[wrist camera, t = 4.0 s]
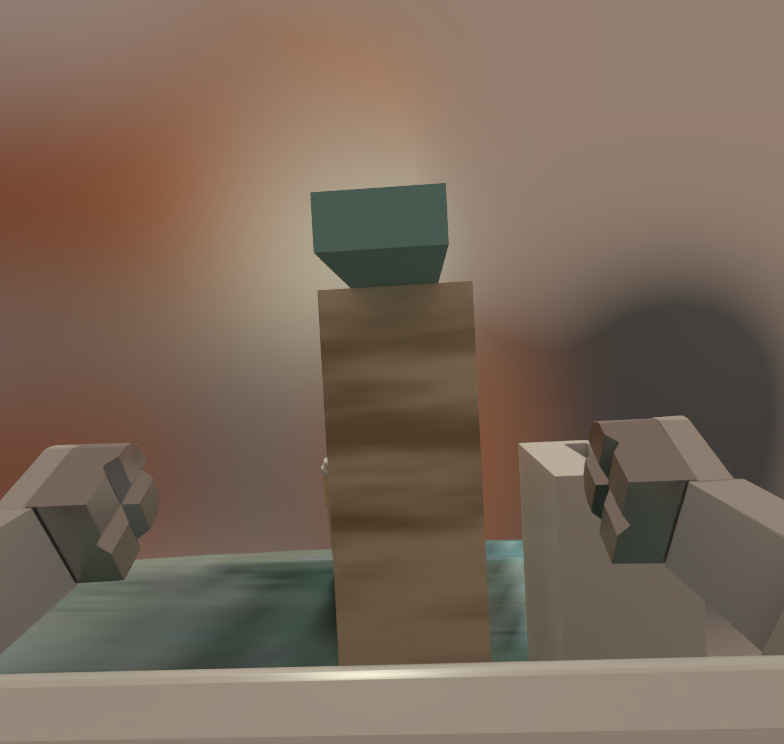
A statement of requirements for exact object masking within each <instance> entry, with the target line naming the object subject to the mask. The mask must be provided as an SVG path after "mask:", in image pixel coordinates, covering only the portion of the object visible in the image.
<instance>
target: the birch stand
mask: <svg viewBox="0 0 784 744" xmlns="http://www.w3.org/2000/svg"><path fill="white" fill-rule="evenodd" d="M318 307H319V324H320V341H321V357H322V358H321V359H322V374H323V375H322V376H323V394H324V411H325V428H326V444H327V445H326V446H327V463H328V481H329V498H330V515H331V533H332V550H333V567H334V585H335V602H336V619H337V637H338V654H339V666H362V665H402V664H441V663H482V662H491V654H490V634H489V613H488V593H487V572H486V552H485V531H484V512H483V491H482V470H481V449H480V430H479V409H478V390H477V389H478V388H477V369H476V347H475V327H474V306H473V286H472V281H466V282H450V283H433V284H416V285H400V286H383V287H366V288H350V289H333V290H318Z"/></svg>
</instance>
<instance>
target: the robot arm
mask: <svg viewBox="0 0 784 744" xmlns="http://www.w3.org/2000/svg"><path fill="white" fill-rule="evenodd" d="M588 441H589V444H590V446H591V448H592V450H593V452H592V453H591V454H590V455H589V456H588V457H587V458H586V459H585V465H584V474H583V476H584V490H585V494H586V498H587V502H588V505H589V507H590V510H591V512H592V513H593V514H594V515H596V516H597V517H599V518H600V519H601V525H600V530H599V533H600V535H601V538H602V540H603V543H604V545H605V548H606V550H607V553H608V555H609V558H610V560H611V563H612V564H654V563H665V567H666V568H667V569H669V570H670V571H671V572H672V573H673V574H674V575H675V576H677V577H678V578H679V579H680V580H681V581H682V582H683V583H685V584H686V585H687V586H688V587H689V588H690V589H691V590H692V591H694V592H695V593H696V594H697V595H698V596H699V597H700V598H702V599H703V600H704V601H705V602H706V603H707V604H708V605H710V606H711V607H712V608H713V609H714V610H715V611H716V612H717V613H719V614H720V615H721V616H722V617H723V618H724V619H726V620H727V621H728V622H729V623H730V624H731V625H732V626H733V627H735V628H736V629H737V630H738V631H739V632H740V633H741V634H743V635H744V636H745V637H746V638H747V639H748V640H749V641H751V642H752V643H753V644H754V645H755V646H756V647H757V648H758V649H759V650H761V651H762V654H761V656H729V657H728V656H727V657H684V658H644V659H603V660H563V661H522V662H482V663H441V664H402V665H362V666H322V667H283V668H243V669H202V670H159V671H117V672H75V673H35V674H0V744H784V500H782V499H780V498H779V497H777V496H775V495H773V494H771V493H769V492H767V491H765V490H763V489H762V488H760V487H758V486H756V485H754V484H752V483H750V482H748V481H746V480H745V479H733V477H732V476H731V475H730V473H729V472H728V471H727V470H726V468H725V467H724V466H723V464H722V463H721V462H720V460H719V459H718V458H717V456H716V455H715V454H714V452H713V451H712V450H711V448H710V447H709V446H708V444H707V443H706V442H705V441H704V439H703V438H702V436H701V435H700V434H699V433H698V431H697V430H696V428H695V427H694V426H693V424H692V423H691V422H690V420H689V419H688V418H686V417H684V416H669V417H655V418H652V419H635V420H617V421H597V422H593V423H592V425H591V428H590V431H589V437H588ZM145 461H146V459H145V457H144V455H143V453H142V451H141V448H140V446H138V445H135V444H133V443H114V444H81V445H55V446H52V447H50V448H47V449H45V450H44V451H43V452H42V454H41V455H40V456H39V457H38V458H37V459H36V461H35V462H34V463H33V464H32V465H31V466H30V468H29V469H28V470H27V471H26V472H25V473H24V474H23V475H22V477H21V478H20V479H19V480H18V481H17V482H16V483H15V485H14V486H13V487H12V488H11V489H10V490H9V492H8V493H7V494H6V495H5V496H4V497H3V498H2V500H1V501H0V654H1V653H2V652H3V651H5V650H6V649H7V648H8V647H9V646H10V645H11V644H12V643H13V642H15V641H16V640H17V639H18V638H19V637H20V636H21V635H22V634H23V633H25V632H26V631H27V630H28V629H29V628H30V627H31V626H32V625H34V624H35V623H36V622H37V621H38V620H39V619H40V618H41V617H42V616H44V615H45V614H46V613H47V612H48V611H49V610H50V609H51V608H52V607H54V606H55V605H56V604H57V603H58V602H59V601H60V600H61V599H62V598H64V597H65V596H66V595H67V594H68V593H69V592H70V591H71V590H72V589H74V588H75V587H76V586H77V585H76V583H87V582H103V581H119V580H125V578H126V576H127V574H128V572H129V570H130V568H131V566H132V564H133V562H134V560H135V558H136V557H137V554H138V553H139V551H140V547H139V544H138V541H137V539H138V538H139V537H141V536H142V535H144V534H145V533H146V532H147V531H149V530H150V529H151V527H152V525H153V523H154V521H155V519H156V516H157V510H158V503H159V498H158V490H157V487H156V484H155V481H154V479H153V478H152V477H151V476H149V475H148V474H147V473H145V472H144V471H143V470H142V468H143V466H144V463H145Z"/></svg>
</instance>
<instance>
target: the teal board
mask: <svg viewBox="0 0 784 744" xmlns="http://www.w3.org/2000/svg"><path fill="white" fill-rule="evenodd" d="M310 194H311V211H312V229H313V247H314V253H315V254H316V255H317V256H318V257H319V258H320V259H321V260H322V261H323V262H324V263H325V264H326V265H327V266H328V267H329V268H330V269H331V270H332V271H333V272H334V273H335V274H337V275H338V276H339V277H340V278H341V279H342V280H343V281H344V282H345V283H346V284H347V285H348V286H349V287H350V288H366V287H383V286H400V285H416V284H433V283H438V282H439V278H440V274H441V271H442V267H443V263H444V259H445V256H446V252H447V248H448V244H449V241H448V222H447V203H446V202H447V201H446V183H440V184H426V185H412V186H398V187H384V188H368V189H355V190H340V191H327V192H326V191H325V192H311V193H310Z"/></svg>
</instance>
